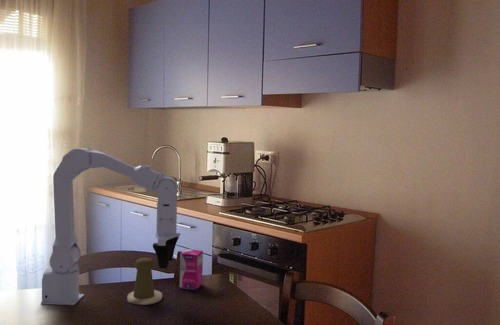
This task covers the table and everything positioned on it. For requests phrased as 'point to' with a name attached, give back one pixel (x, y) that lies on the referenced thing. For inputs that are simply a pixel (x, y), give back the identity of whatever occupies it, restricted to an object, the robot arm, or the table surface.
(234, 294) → the table surface
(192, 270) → the supplement box
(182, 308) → the table surface
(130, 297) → the coaster
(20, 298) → the table surface
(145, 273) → the cork
